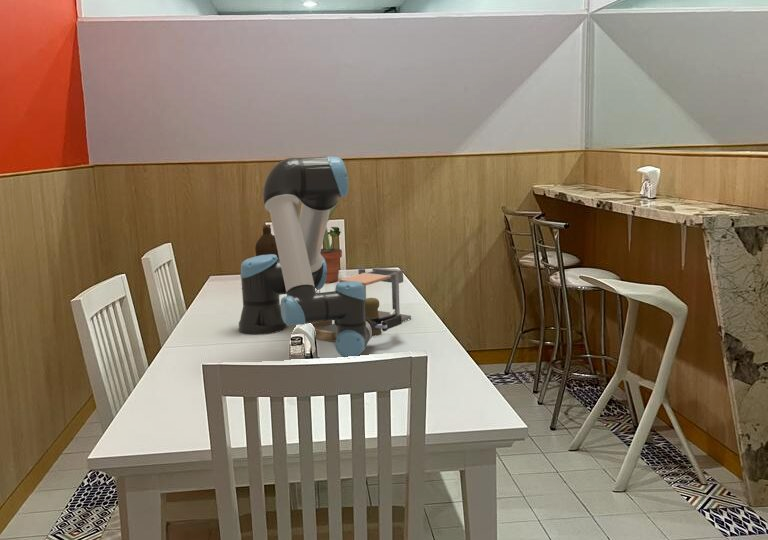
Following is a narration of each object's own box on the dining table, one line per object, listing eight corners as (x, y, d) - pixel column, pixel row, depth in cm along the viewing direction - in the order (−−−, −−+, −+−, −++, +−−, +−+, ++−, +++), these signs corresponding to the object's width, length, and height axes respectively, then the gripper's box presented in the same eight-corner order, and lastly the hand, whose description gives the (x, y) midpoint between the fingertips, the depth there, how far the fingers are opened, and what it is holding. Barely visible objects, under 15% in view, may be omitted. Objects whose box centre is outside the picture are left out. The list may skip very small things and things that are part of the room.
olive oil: (287, 281, 320) (284, 223, 316) (272, 286, 311) (269, 226, 307) (267, 280, 325) (264, 223, 321) (252, 284, 316) (248, 226, 312)
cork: (358, 334, 228) (357, 299, 226) (368, 330, 234) (366, 295, 232) (375, 336, 226) (374, 301, 224) (385, 331, 231) (384, 297, 229)
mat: (305, 334, 231) (305, 332, 231) (333, 325, 241) (333, 323, 241) (336, 340, 223) (336, 338, 223) (364, 330, 233) (364, 328, 233)
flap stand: (371, 313, 256) (369, 266, 254) (411, 319, 246) (409, 270, 243) (354, 318, 250) (352, 270, 247) (394, 324, 239) (392, 274, 236)
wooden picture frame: (297, 334, 231) (296, 326, 230) (328, 324, 242) (328, 317, 241) (332, 341, 221) (331, 333, 221) (363, 330, 233) (363, 323, 232)
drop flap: (376, 278, 253) (376, 267, 252) (404, 282, 246) (403, 270, 245) (339, 290, 238) (338, 277, 238) (366, 293, 231) (366, 281, 230)
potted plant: (351, 279, 321) (348, 198, 315) (330, 285, 309) (326, 201, 303) (322, 276, 330) (318, 197, 324) (301, 282, 317) (296, 200, 311)
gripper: (316, 343, 210) (332, 325, 230) (404, 344, 206) (412, 325, 227) (315, 317, 209) (331, 301, 229) (403, 318, 205) (412, 301, 225)
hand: (372, 313), depth 228 cm, fingers open, 13 cm apart
